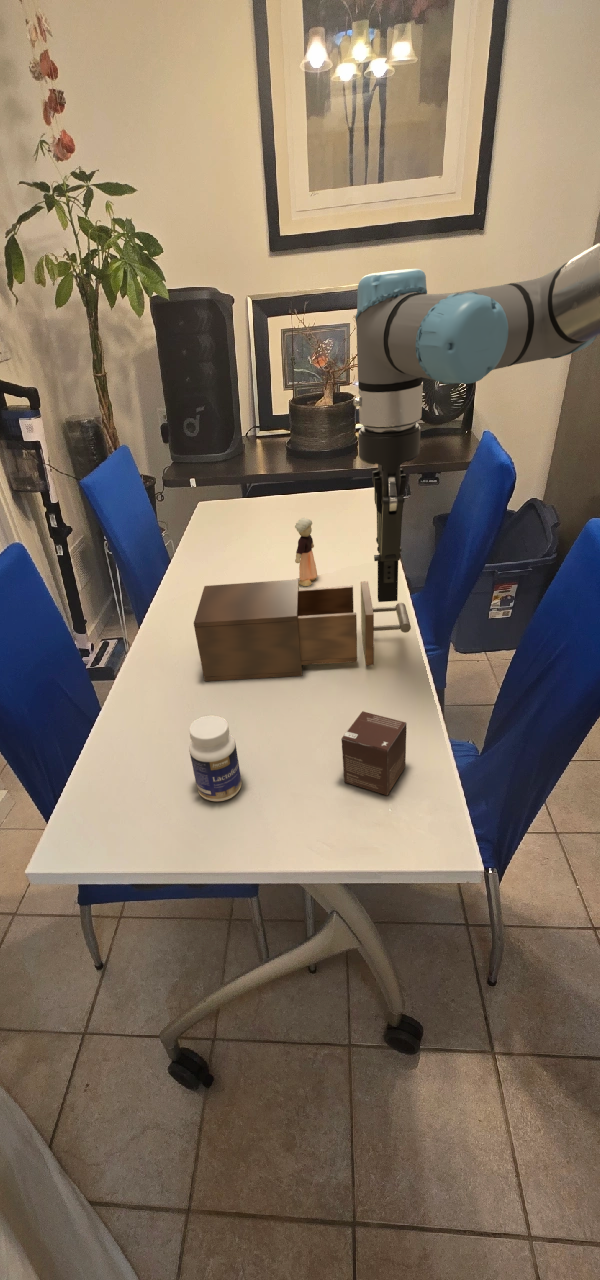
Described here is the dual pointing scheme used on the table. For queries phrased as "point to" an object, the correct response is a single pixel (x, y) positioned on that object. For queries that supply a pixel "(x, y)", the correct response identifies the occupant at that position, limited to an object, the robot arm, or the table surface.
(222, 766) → the pill bottle
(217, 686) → the table surface
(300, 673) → the cabinet
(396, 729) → the box
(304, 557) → the grandmother figurine
